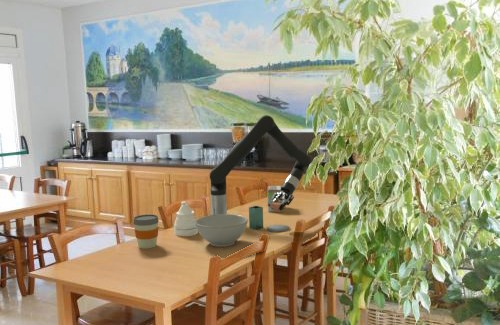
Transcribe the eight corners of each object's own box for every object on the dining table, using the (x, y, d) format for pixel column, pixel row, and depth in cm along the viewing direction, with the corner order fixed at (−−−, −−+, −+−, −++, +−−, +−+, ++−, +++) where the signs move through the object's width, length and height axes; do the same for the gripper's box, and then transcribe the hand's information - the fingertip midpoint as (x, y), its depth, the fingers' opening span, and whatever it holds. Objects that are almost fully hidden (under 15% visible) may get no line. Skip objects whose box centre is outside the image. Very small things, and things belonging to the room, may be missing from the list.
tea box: (283, 211, 319) (283, 189, 318) (267, 212, 320) (267, 189, 318) (282, 206, 334) (281, 185, 332) (267, 207, 335) (267, 185, 333)
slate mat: (272, 233, 269) (272, 231, 269) (263, 227, 281) (263, 226, 281) (293, 230, 274) (293, 228, 274) (283, 225, 286) (283, 223, 286)
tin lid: (277, 212, 272) (277, 204, 271) (270, 210, 277) (269, 203, 276) (285, 210, 276) (285, 203, 275) (278, 208, 281) (277, 201, 280)
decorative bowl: (237, 233, 271) (236, 212, 269) (256, 246, 246) (255, 222, 245) (189, 240, 261) (188, 217, 259) (205, 254, 236) (204, 229, 234)
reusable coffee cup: (135, 250, 245) (133, 221, 243) (134, 243, 257) (132, 215, 255) (161, 248, 248) (159, 218, 246) (158, 241, 260) (157, 213, 258)
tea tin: (256, 229, 278) (255, 208, 276) (249, 227, 282) (248, 207, 280) (263, 227, 281) (262, 207, 280) (256, 226, 285) (256, 205, 284)
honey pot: (193, 236, 267) (192, 204, 265) (171, 235, 270) (169, 203, 268) (200, 230, 280) (199, 199, 278) (179, 229, 282) (177, 198, 280)
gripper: (277, 179, 284) (263, 203, 278) (295, 182, 274) (281, 207, 268) (284, 187, 289) (270, 211, 282) (302, 190, 278) (288, 214, 272)
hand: (275, 208), depth 275 cm, fingers closed on tin lid, 6 cm apart
